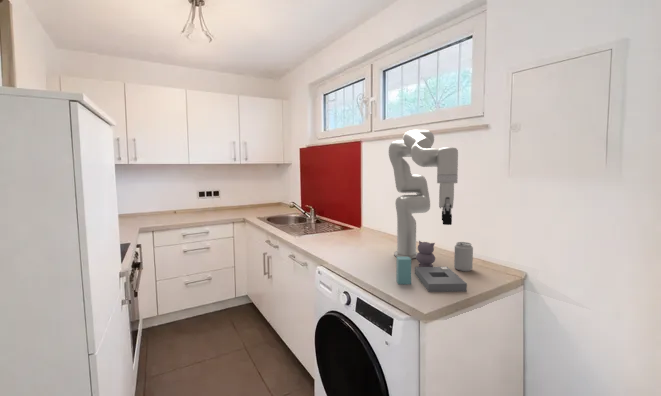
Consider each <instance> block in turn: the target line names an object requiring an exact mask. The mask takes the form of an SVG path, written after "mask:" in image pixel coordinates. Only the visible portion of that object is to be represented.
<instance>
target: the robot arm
mask: <svg viewBox="0 0 661 396" xmlns="http://www.w3.org/2000/svg"><path fill="white" fill-rule="evenodd" d="M434 142H435V136H434V133H433V132H432V131H430V130H428V129H412V130H408V131H406V132H405V133H404V134H403V136H402V139H401V140H395V141H392V142H391V143H390V144H389V146H388V158H389V160H390V163H391V165H392V168H393V173H394V174H393V175H394V181H395V183H394V184H395V188H396V191H397V192H398V193H400V194H403V195H400V196H398V197H396V199H395V210H396V219H397V220H396V221H397V223H396V224H397V227H396V232H397V233H396V236H397V239H396V241H397V242H396V243H397V245H396V251H394V252H393V254H394V257H410V259H411V260H412V259H416V255H417V254H418V253H419V252H417V221H416V219H415V218H414V216H413V214H424V213H428V212H429V210H430V209H431V199H430V198H431V197H430V192H429V187H428V182H427V179H426V177H425V176H424V175H421V174H412V173H411V167H410V164H409V163H408V162H407V160H406V159H405V158H411V159H412V162H413V163H415V164H416V165H417V166H419V167H421V168H422V167H423V168H433V167H436V170H437V172H436V173H437V175H436V184H439V192H438V193H439V198H438V199H439V202H438V207H439V209H440V210H441V221H442V225H443V226H449V225H450V226H451V225H452V224H453V223H452V222H453V221H452V220H453V215H452V209H453V208H454V201H455V200H454V199H455V184H458V171H459V169H458V168H459V167H458V166H459V151H458V150H459V149H458V148H456V147H441V148H434V147H433V148H432V146H433V145H434Z"/></svg>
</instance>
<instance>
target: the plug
mask: <svg viewBox="0 0 661 396" xmlns="http://www.w3.org/2000/svg"><path fill="white" fill-rule="evenodd" d="M395 257H396V256H395ZM395 264H396V274H395V275H396V277H395V278H396V282H397V284H398V285H412V259H410V257H396V263H395Z"/></svg>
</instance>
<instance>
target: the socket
mask: <svg viewBox="0 0 661 396" xmlns="http://www.w3.org/2000/svg"><path fill="white" fill-rule="evenodd" d="M414 276H416V278H417V279H418V280H419V281H420V283H421V284H422V285H423V287H424V288H425V290H427V292H428V293H435V292H438V293H439V292H440V293H444V292H446V293H447V292H448V293H450V292H452V293H455V292H456V293H457V292H458V293H459V292H467V290H468V289H467V286H468V283H467V282H466V281H465V280H463V278H462V277H460V275H457V273H455V272H454V271H453V270H452V269H451V268H449V266H433V267H419V266H414Z"/></svg>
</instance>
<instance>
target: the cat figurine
mask: <svg viewBox="0 0 661 396" xmlns="http://www.w3.org/2000/svg"><path fill="white" fill-rule="evenodd" d="M435 245H436V242H431V243H430V242H428V241H420V240H419V241H418V245H417V251H418V252H417V253H418V254H417V255H416V258H415V259H416V261H417V263H418V267H434V263H435V261H436V255H435V254H434V249H435V247H434V246H435Z"/></svg>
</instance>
